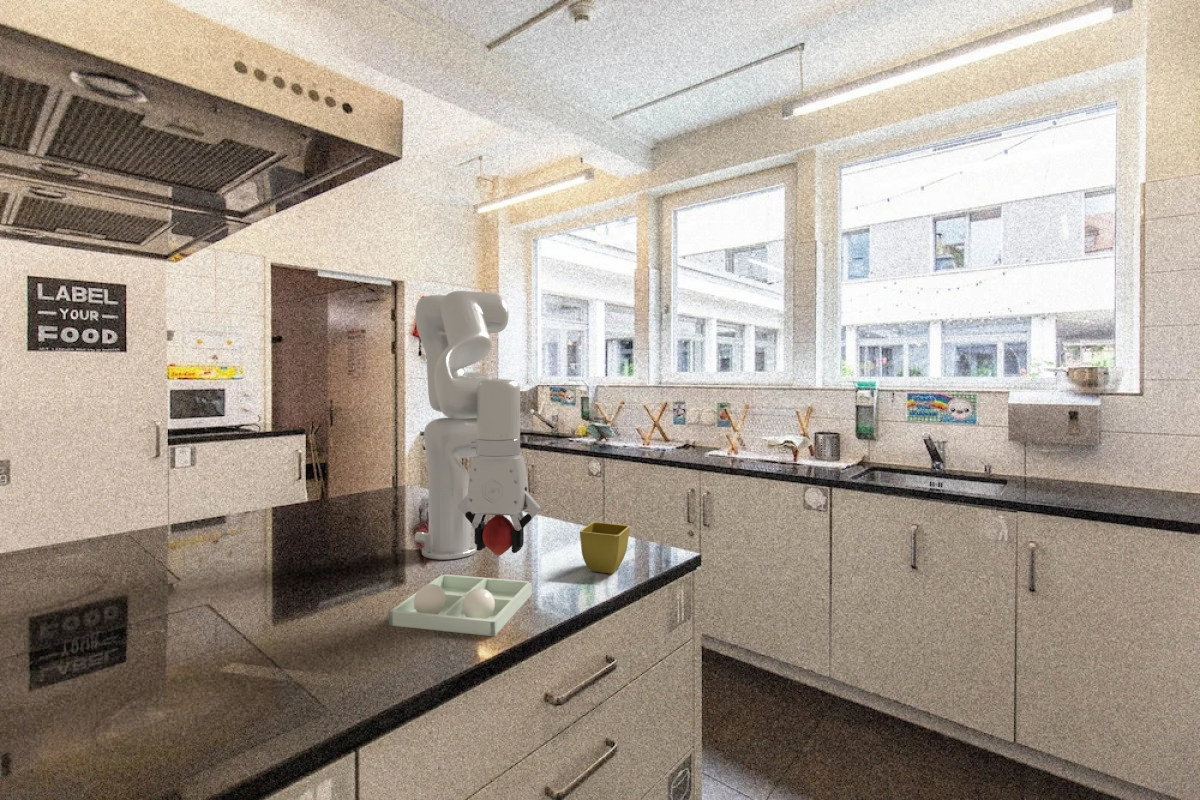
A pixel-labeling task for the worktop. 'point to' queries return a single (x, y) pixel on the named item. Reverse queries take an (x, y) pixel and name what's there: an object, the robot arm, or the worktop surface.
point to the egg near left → (430, 599)
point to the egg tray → (452, 616)
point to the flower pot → (604, 546)
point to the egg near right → (478, 604)
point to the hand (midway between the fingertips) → (499, 548)
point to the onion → (498, 534)
